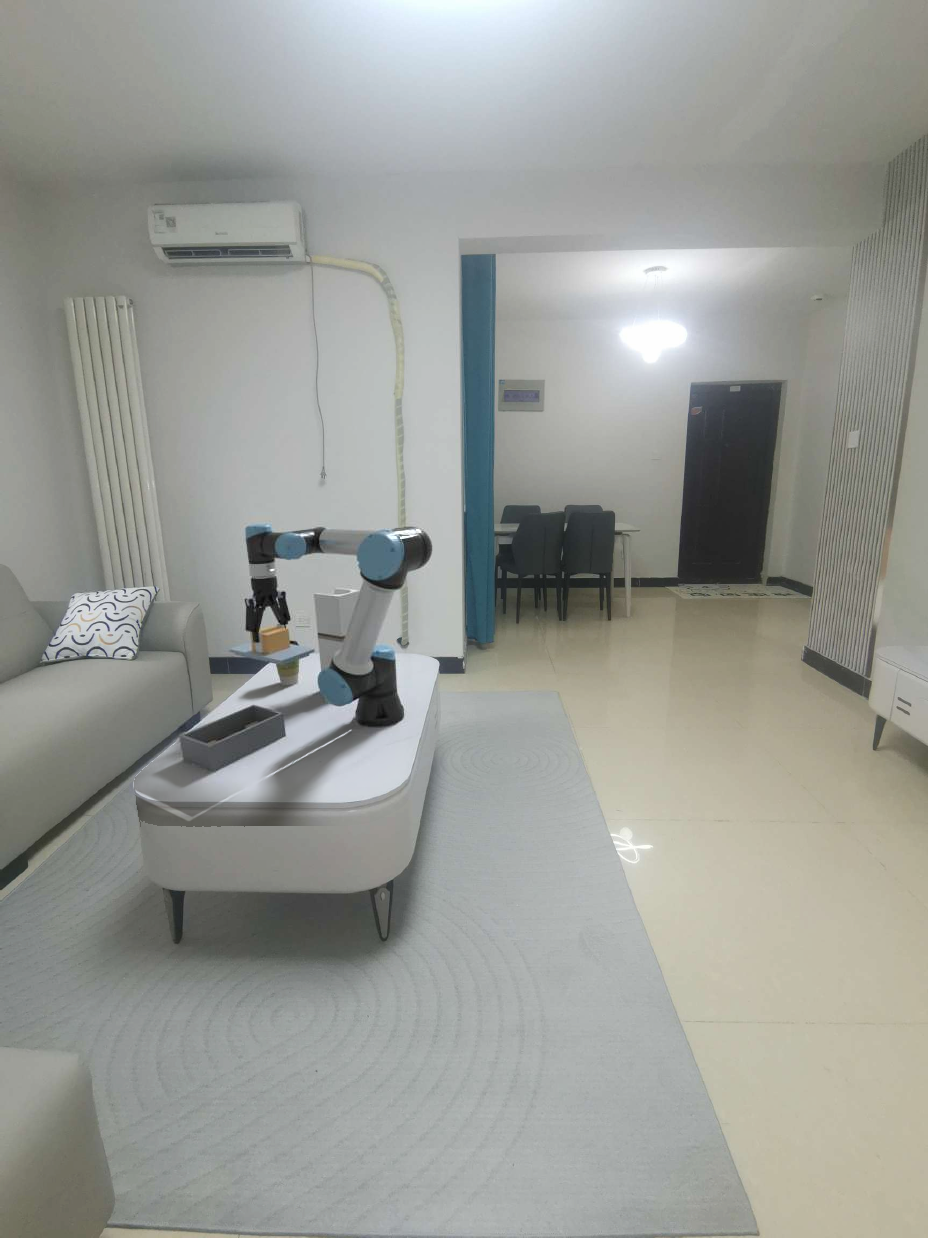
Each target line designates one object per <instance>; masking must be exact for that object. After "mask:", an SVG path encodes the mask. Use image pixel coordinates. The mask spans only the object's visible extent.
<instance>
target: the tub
mask: <svg viewBox="0 0 928 1238" xmlns="http://www.w3.org/2000/svg"><path fill="white" fill-rule="evenodd" d="M256 721H257V722H260V723H257V724H255V725H253V726H251V727H249V728H246V729H245V726H247V725H249V724H252V723H254V722H256ZM285 724H286V723H285V717H284V712H280V711H277V710H273V709H269V708H267V707H262V706H260V705H256V704H252V705H250V706H248V707H245V708H243V709H241V710H237V711H236V712H233V713H231V714H228V715H226V716H224V717H221V718H218V719H216V720H214V721H212V722H209V723H207V724H204V725H201V726H199V727H197V728H195V729H192V730H190V731H188V732H185V733H183V734H180V735H179V736H178V737H179V744H180V748H181V754H182V755H181V756H182V758H183V759H182V760H183V761H184V762H186V763H189V764H191V765H194V766H196V767H199V768H201V769H204V770H205V771H206V770H207V771H209V772H211V773H215V772H217V771H219V770H221V769H223V768H225V767H227V766H229V765H231V764H233V763H235V762H237V761H239V760H241V759H243V758H246V757H247V756H249V755H251V754H253V753H255V752H257V751H259V750H261V749H264V748H266V747H267V746H269V745H271V744H274V743H275V742H278V741H279V740H282V739H283V738H285V737H287V734H286V725H285ZM233 732H237V733H235V734H233V735H231V736H229V737H228V735H229V734H230V733H233ZM214 740H216V741H218V742H215V743H213V744H211V745H210V744H207V743H209V742H212V741H214Z"/></svg>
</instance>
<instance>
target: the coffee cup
mask: <svg viewBox="0 0 928 1238" xmlns="http://www.w3.org/2000/svg"><path fill="white" fill-rule="evenodd" d="M290 644H292V645H297V646H300V644H299V643H298V641H296V640H290ZM275 666H276V671H277V673H278V676H279V677H278V678H279V680H280V684H281V685H282V686H285V687H289V685H290V686H294V685H296V683H297V684H299V673H300V659H299V660H296V661H293V662H290V663H288V664H285V665H279V664H275Z"/></svg>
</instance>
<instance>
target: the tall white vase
mask: <svg viewBox="0 0 928 1238" xmlns="http://www.w3.org/2000/svg"><path fill="white" fill-rule="evenodd" d="M333 590H334V594H328V593H327V594H326V593H319V592H314V593H313V598H314V610H315V622H316V629H317V631H316V632H317V641H318V642H317V643H318V650H319V651H318V652H319V654H318V655H319V662H320V672H321V671H322V670H323V669H325V668H328V667H329V666H330V663H331V660H332V657H333V655H334V653H335V652H336V651H337V650H340V649H341V648H342V645H343V641H344V638H345V635H346V632H347V629H348V626H349V623H350V620H351V617H352V614H353V611H354V608H355V605H356V602H357V599H358V595H359V592H360V590H359V589H353V588H352V589H350V588H342V587H334V589H333Z"/></svg>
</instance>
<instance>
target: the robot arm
mask: <svg viewBox="0 0 928 1238" xmlns="http://www.w3.org/2000/svg"><path fill="white" fill-rule="evenodd" d="M244 532H245V539H244V540H245V543H246V544H245V545H246V551H247V560H248V568H249V569H248V570H249V577H251V578H250V585H251V587H250V588H251V590H252V592H253V593H252V597H250V598H245V599H244V603H245V631H246V632H252V636H253V642H255V646H256V652H259V653H264V648H263V639H262V632H260V631H259V630H260V629H261V624H262V621H263V616H264V612H265V611H266V610H267V609H266V608H268V607H269V608H270V609H271V611H272V612H273V613H272V614H273V615H274V617H275V619H276V620H277V622H278V623H277V624H276V627H280V628H286V629H287V625H289V622H290V621H291V620H292V619H291V615H290V611H289V607H288V603H287V598H286V597H287V595H286V593H287V592H286V591H285V590H277V589H278V586H279V585H278V578H277V576H276V574H277V568H276V559H281V560H285V561H286V560H287V561H291V560H299V559H300V558H302V557H303V556H307V555H314V554H322V555H323V554H328V555H330V554H331V555H341V556H343V555H344V556H356V561H357V562H358V564H357V566H358V568H359V576H360V577H361V580H362V584H361V587H360V592H359V595H358V599H357V602H356V605H355V608H354V611H353V614H352V617H351V620H350V623H349V626H348V629H347V632H346V635H345V638H344V641H343V645H342V648H341V649H340V650H337V651H336V652H335V653H334V655H333V657H332V660H331V663H330V666H329V667H328V668H325V669H323V670H322V671H321V670H320V671H319V674H318V675H317V686H318V689H319V692H320V693H321V696H322V697H323V698H324V699H325V700H326V702H328V703H329V704H330V705H332V706H336V707H343V706H346V705H350V704H351V703H352V702H355V701H357V705H356V709H355V712H354V715H355V722H356V723H357V724H359V725H361V726H363V727H367V728H380V727H388V726H391V725H395V724H397V723H399V722H400V721H402V720H403V719H404V718H405V708H404V706H403V704H402V702H401V699H400V696H399V693H398V685H397V684H398V682H397V679H398V678H397V665H396V664H397V662H396V661H397V660H396V653H395V650H394V649H393V648H392V647H391V646H388V645H382V644H377V642H378V638H379V635H380V633H381V630H382V627H383V625H384V622H385V619H386V616H387V614H388V611H389V608H390V605H391V602H392V599H393V596H394V594H395V592H396V591H398V590H401V589H402V587H403V586H404V583H405V581H406V578H407V575H408V573H410V572H413V571H416V570H418V569H421V568H422V567H424V566H425V565H426V564H427V563H428V562H429V560H430V559H431V557H432V554H433V542H432V540H431V537H430V536H429V534H428V533H427V532H425V531H424V530H423V529H421V528H419V527H416V526H404V527H394V528H392V529H382V530H368V529H367V530H365V529H344V528H341V529H340V528H339V529H338V528H330V527H326V526H324V527H323V526H319V527H318V526H317V527H314V528H308V529H301V530H300V529H299V530H293V531H285V532H275V531H273V528H272V526H271V524H267V523H260V524H259V523H258V524H249V525H247V526H246V527H245V530H244Z"/></svg>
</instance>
